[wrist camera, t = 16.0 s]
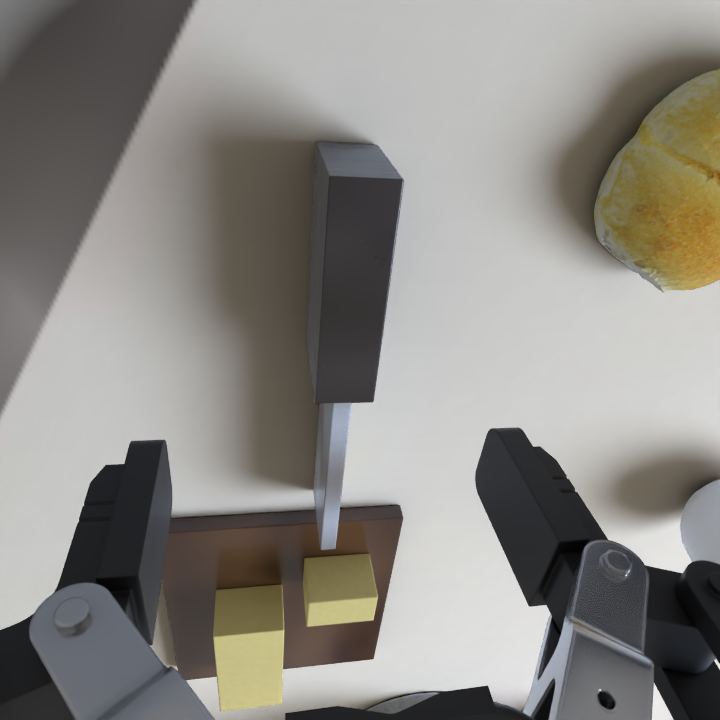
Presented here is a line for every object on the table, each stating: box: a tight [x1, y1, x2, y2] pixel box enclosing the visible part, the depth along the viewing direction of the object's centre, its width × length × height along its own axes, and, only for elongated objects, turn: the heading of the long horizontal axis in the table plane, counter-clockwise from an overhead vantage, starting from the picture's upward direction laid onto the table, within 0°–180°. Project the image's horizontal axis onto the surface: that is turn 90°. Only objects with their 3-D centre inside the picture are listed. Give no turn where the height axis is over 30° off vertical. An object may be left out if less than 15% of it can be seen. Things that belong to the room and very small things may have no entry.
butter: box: [213, 584, 284, 711], centre depth 35 cm, size 4×9×3 cm, turn 174°
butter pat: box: [303, 553, 378, 627], centre depth 33 cm, size 4×2×3 cm, turn 84°
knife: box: [306, 141, 404, 550], centre depth 24 cm, size 19×2×4 cm, turn 174°
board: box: [162, 505, 403, 680], centre depth 36 cm, size 14×16×1 cm
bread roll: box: [594, 69, 720, 292], centre depth 22 cm, size 8×9×4 cm
